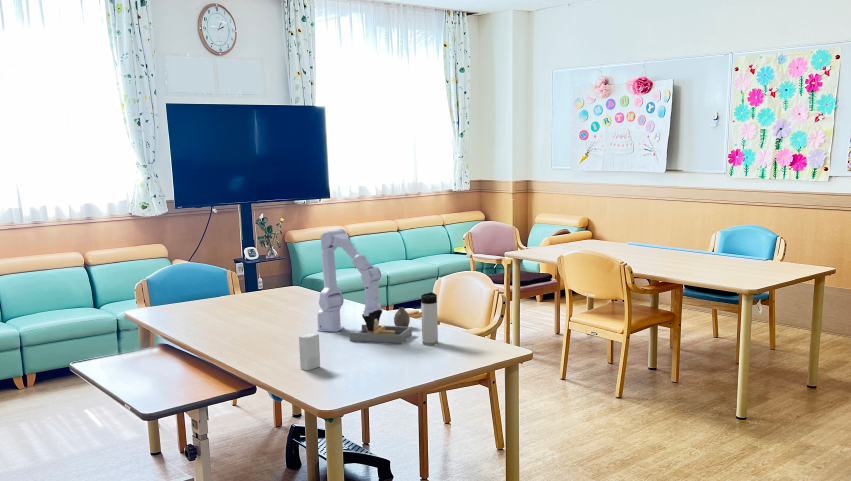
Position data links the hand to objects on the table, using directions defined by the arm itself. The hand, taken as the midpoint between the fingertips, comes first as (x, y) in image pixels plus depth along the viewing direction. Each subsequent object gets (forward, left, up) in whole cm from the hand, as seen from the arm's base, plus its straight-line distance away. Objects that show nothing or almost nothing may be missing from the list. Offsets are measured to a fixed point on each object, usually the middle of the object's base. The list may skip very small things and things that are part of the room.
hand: (372, 329), depth 283 cm
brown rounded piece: (+7, +18, -4) cm, 20 cm away
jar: (0, 0, -2) cm, 2 cm away
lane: (+4, 0, -4) cm, 5 cm away
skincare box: (-7, -43, -4) cm, 44 cm away
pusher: (+6, 0, -3) cm, 7 cm away
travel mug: (+26, -3, -4) cm, 26 cm away
